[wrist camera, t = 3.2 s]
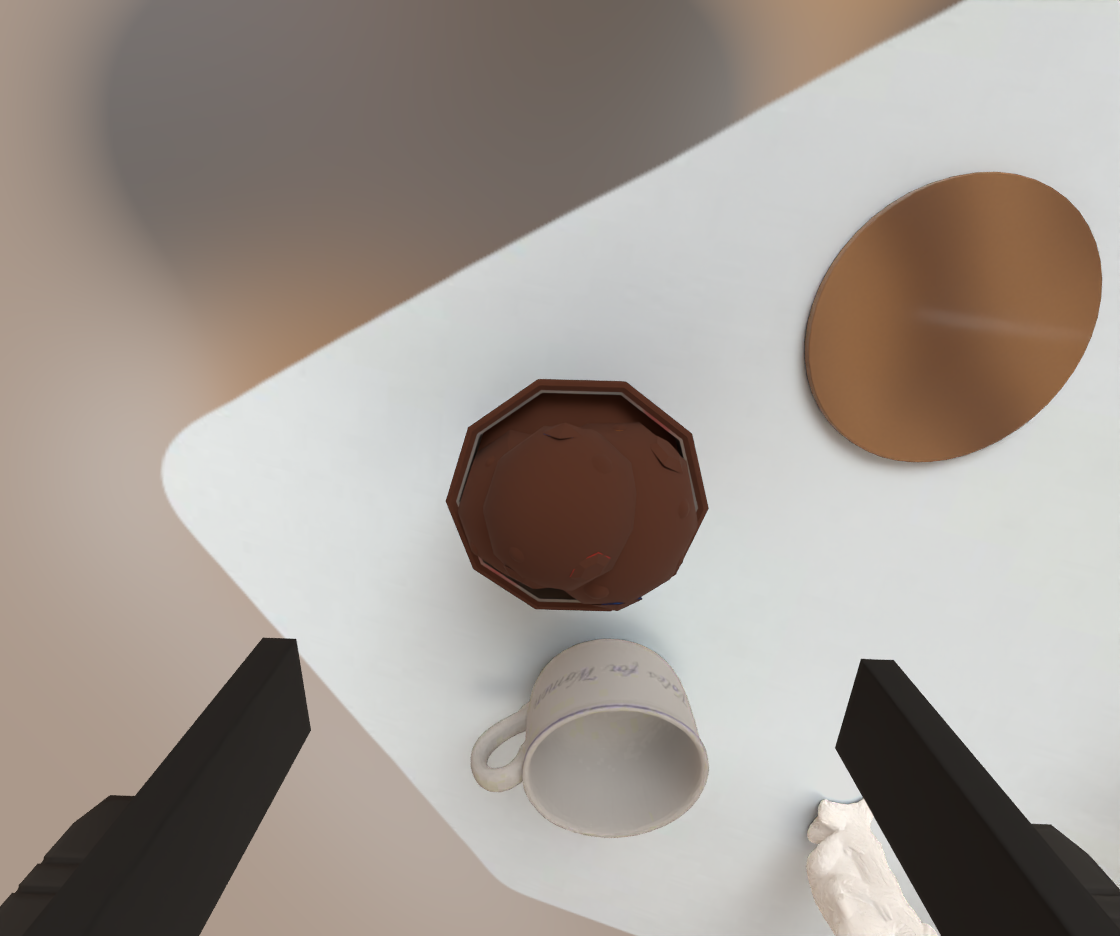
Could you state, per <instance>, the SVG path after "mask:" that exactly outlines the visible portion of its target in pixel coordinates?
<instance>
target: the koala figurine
mask: <svg viewBox="0 0 1120 936" xmlns="http://www.w3.org/2000/svg"><path fill="white" fill-rule="evenodd" d="M872 819H873V814H872V812H871V811H870V809H869V807H868V805H867V803H866V802H865V800H864V799H862V800H861V801H859V802H858V803H851V804H841V803H835V802H830V801H828V800H827V799H824V800H822V801H821V802H820V804H819V807H818V816H817V817H816V819H815V820H814V821H813V823H812V824H811V825H810V827H809V829H808V832H807V837H808V839H809V841H810V842H812V843H814V844H819V845H818V846H817V848H816V849H815V850H813V851H812V852H811V853H810V855H809V856H808V859H807V865H806V868H807V876H808V880H809V884H810V888H811V890H812V894H813V897H814V899H815V903H816V904H817V906H818V907H819V910H820V912H821V913H822V915H823V917H824V919H825V920H826V921H827V923H828V924H829V925H830V928H831V929H832V931H833V932H834V934H835V936H937V933H936V931H935V930H934V929H933V928H932V927H931V926H930V925H929V924H925V923H922V922H921V920H920V918H919V917H918V916H917V914H916V912H915V911H914V910H913V909H912V908H911V907H910V905H909V904H908V902H907V901H906V899H905V898H904V895H903V893H902V890H901V888H900V886H899V884H898V882H897V879H896V877H895V876H894V874H893V872H892V871H891V870H890V868H889V867H888V864H887V862H886V857H885V854H884V852H883V850H882V845H881V843H880V842H878V840H877V839H876V837H875V836H874V835H873V833H872V831H871V829H870V824H871V821H872Z"/></svg>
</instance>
